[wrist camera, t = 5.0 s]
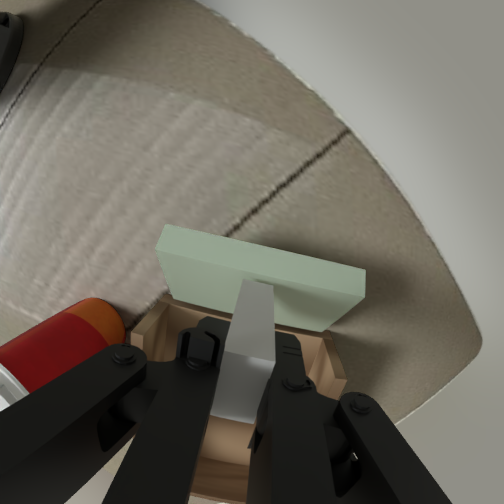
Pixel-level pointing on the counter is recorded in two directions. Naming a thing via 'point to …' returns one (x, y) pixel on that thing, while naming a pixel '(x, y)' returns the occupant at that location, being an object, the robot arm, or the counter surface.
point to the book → (257, 277)
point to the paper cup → (56, 347)
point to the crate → (221, 429)
